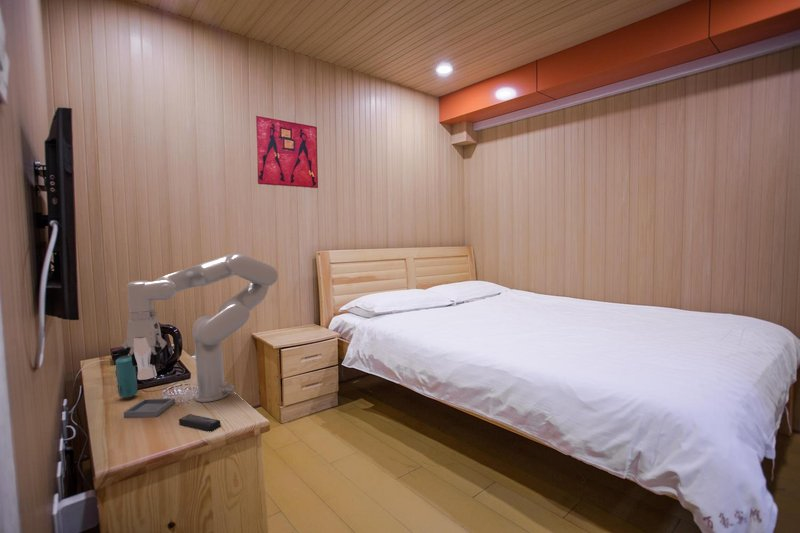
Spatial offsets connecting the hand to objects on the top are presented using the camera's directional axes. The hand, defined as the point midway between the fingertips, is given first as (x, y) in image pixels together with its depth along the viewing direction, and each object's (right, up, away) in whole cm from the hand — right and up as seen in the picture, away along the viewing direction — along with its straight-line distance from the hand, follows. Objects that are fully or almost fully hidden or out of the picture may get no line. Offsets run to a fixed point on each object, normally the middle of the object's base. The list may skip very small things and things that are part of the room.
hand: (146, 364), depth 151 cm
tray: (+1, -17, +2) cm, 17 cm away
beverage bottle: (-15, -17, +14) cm, 26 cm away
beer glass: (0, -5, 0) cm, 5 cm away
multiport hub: (+25, -18, -12) cm, 33 cm away
